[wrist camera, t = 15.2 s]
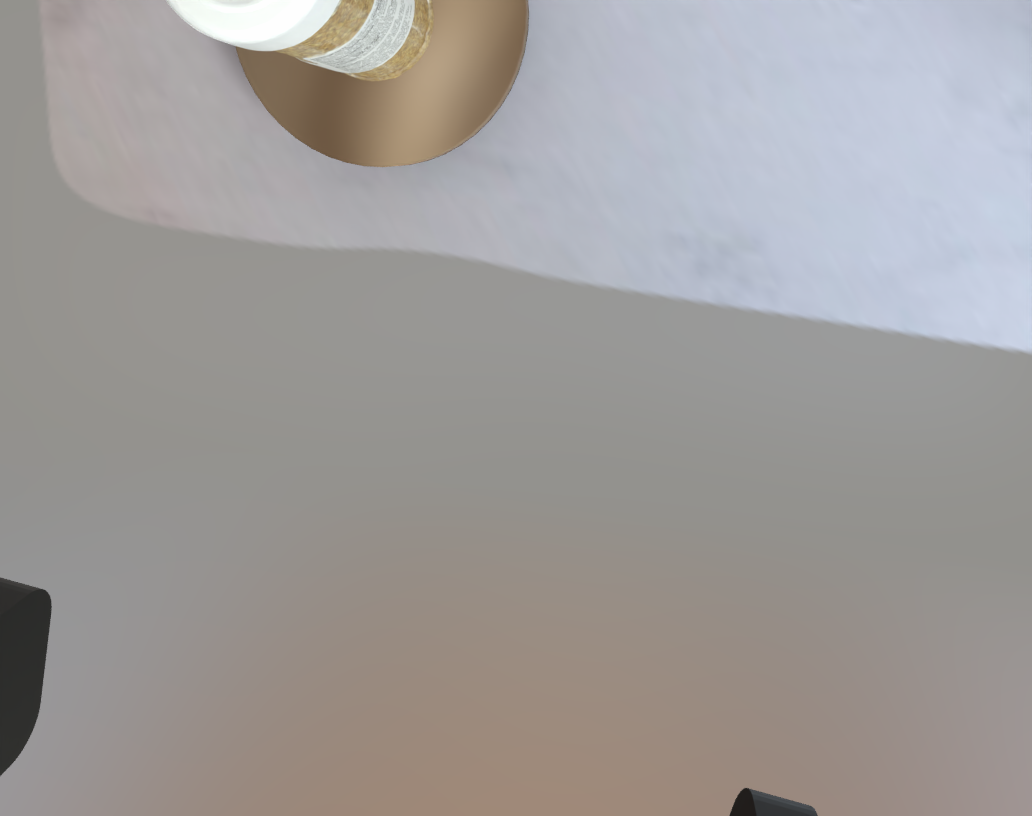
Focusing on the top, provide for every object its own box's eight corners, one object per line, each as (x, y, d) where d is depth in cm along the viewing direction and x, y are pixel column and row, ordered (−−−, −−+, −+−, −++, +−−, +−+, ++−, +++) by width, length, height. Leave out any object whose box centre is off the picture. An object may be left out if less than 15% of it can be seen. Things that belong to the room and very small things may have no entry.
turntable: (561, -105, 34) (558, -117, 33) (490, 196, 38) (485, 198, 36) (270, -177, 35) (254, -192, 33) (224, 127, 38) (207, 126, 36)
